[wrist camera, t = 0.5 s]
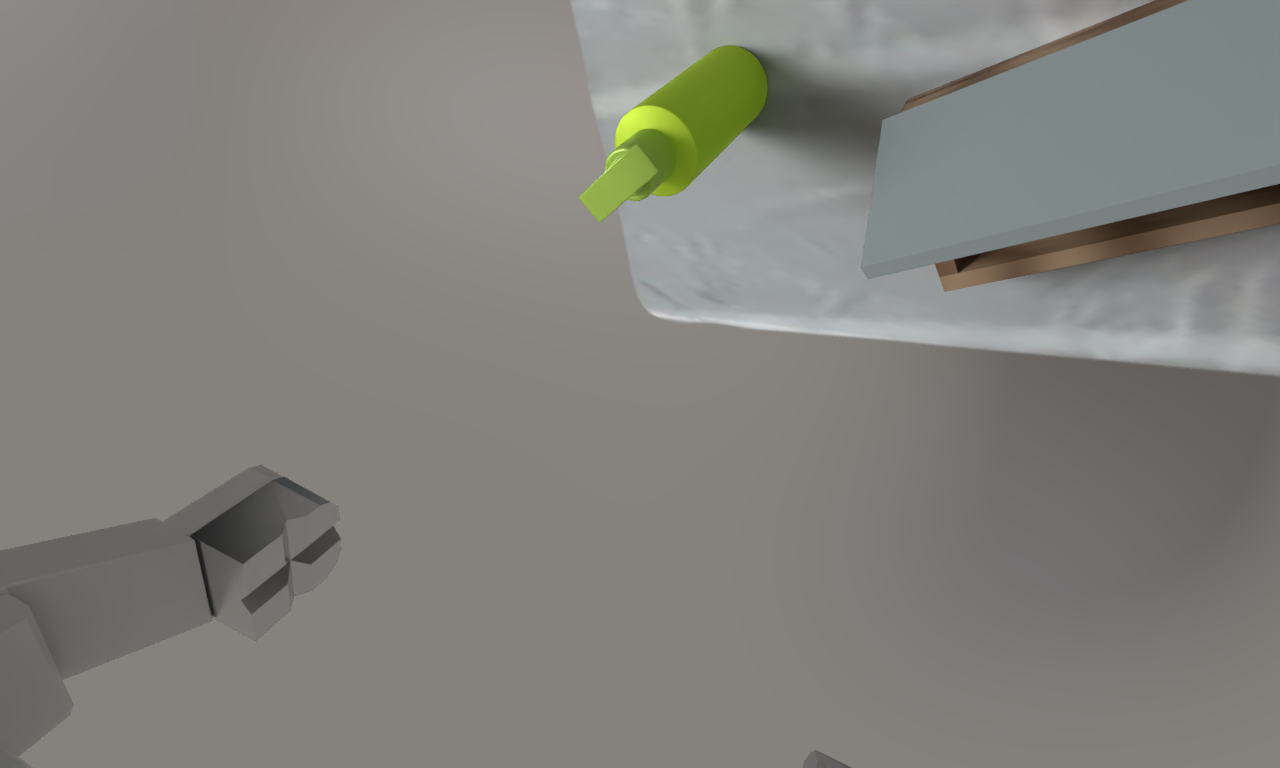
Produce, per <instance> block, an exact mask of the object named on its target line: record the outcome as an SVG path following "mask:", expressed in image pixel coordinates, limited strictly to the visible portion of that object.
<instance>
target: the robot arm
mask: <svg viewBox="0 0 1280 768" xmlns="http://www.w3.org/2000/svg"><path fill="white" fill-rule="evenodd" d="M339 520H340V516H339V506H338V505H337V504H335V503H333V502H331V501H329V500H327V499H325V498H324V497H322V496H320V495H318V494H316V493H314V492H312V491H310V490H308V489H307V488H305V487H303V486H301V485H299V484H297V483H295V482H293V481H291V480H290V479H288V478H287V477H285V476H283V475H281V474H279V473H277V472H275V471H273V470H271V469H269V468H267V467H265V466H263V465H258V466H253V467H249V468H247V469H245V470H244V471H242V472H241V473H239V474H237V475H236V476H234V477H233V478H231V479H230V480H228V481H226V482H225V483H223V484H221V485H220V486H218V487H217V488H215V489H213V490H212V491H210V492H209V493H207V494H205V495H204V496H202V497H201V498H199V499H197V500H196V501H194V502H193V503H191V504H189V505H188V506H186V507H185V508H183V509H182V510H180V511H178V512H177V513H175V514H173V515H172V516H170V517H169V518H167V519H165V520H164V521H161V520H159V519H156V518H152V519H147V520H142V521H138V522H133V523H128V524H124V525H119V526H114V527H109V528H104V529H100V530H95V531H91V532H86V533H81V534H76V535H71V536H67V537H62V538H57V539H52V540H48V541H43V542H38V543H34V544H29V545H24V546H19V547H14V548H10V549H5V550H0V768H33V767H32V766H31V765H29V764H28V763H26V762H25V761H23V760H22V759H21V758H19V756H20V755H21V754H22V753H23V752H25V751H26V750H27V749H29V748H30V747H31V746H32V745H34V744H35V743H36V742H37V741H39V740H40V739H41V738H42V737H43V736H45V735H46V734H47V733H48V732H50V731H51V730H52V729H53V728H55V727H56V726H57V725H58V724H60V723H61V722H62V721H63V720H65V719H66V718H67V717H68V716H70V714H71V711H72V708H73V705H74V704H73V702H72V700H71V697H70V695H69V693H68V691H67V689H66V686H65V684H64V682H63V680H64V679H66V678H68V677H71V676H74V675H76V674H79V673H81V672H84V671H87V670H89V669H92V668H94V667H97V666H99V665H102V664H104V663H107V662H109V661H112V660H115V659H117V658H120V657H122V656H125V655H127V654H130V653H132V652H135V651H138V650H140V649H142V648H145V647H148V646H150V645H153V644H155V643H158V642H160V641H163V640H166V639H168V638H171V637H173V636H176V635H178V634H181V633H184V632H186V631H189V630H191V629H194V628H196V627H199V626H201V625H204V624H206V623H209V622H211V621H212V618H214V619H216V620H218V621H219V622H222V623H223V624H225V625H227V626H229V627H230V628H232V629H234V630H236V631H238V632H240V633H242V634H243V635H245V636H247V637H249V638H251V639H253V640H254V641H257V640H258V639H259V638H260V637H261V636H262V635H263V634H264V633H266V632H267V631H268V630H269V629H270V628H271V627H272V626H274V625H275V624H276V623H277V622H278V621H279V620H280V619H281V618H282V617H284V616H285V615H286V614H287V613H288V612H289V611H290V610H291V607H292V603H293V599H294V596H297V595H300V594H303V593H307V592H310V591H313V590H314V589H315V588H316V587H317V586H318V585H319V584H320V583H321V582H323V581H324V579H326V578H327V577H328V575H329V573H330V572H331V571H332V569H333V567H334V566H335V564H336V563H337V561H338V558H339V554H340V551H341V538H340V537H339V535H338V533H337V532H336V530H335V528H334V526H333V525H334V524H336V523H337V522H338V521H339ZM803 768H851V767H849V766H847V765H845V764H843V763H841V762H839V761H837V760H835V759H833V758H831V757H829V756H827V755H825V754H823V753H821V752H819V751H817V750H815V751H813V752H811V753H810V754H809V756H808V757H807V758H806V760H805V761H804V765H803Z"/></svg>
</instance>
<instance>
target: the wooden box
mask: <svg viewBox="0 0 1280 768" xmlns="http://www.w3.org/2000/svg"><path fill="white" fill-rule="evenodd" d="M1186 1H1188V0H1155V1H1153V2H1150V3H1148V4H1145V5H1143V6H1140V7H1138V8H1135V9H1133V10H1130V11H1128V12H1125V13H1123V14H1120V15H1118V16H1115V17H1113V18H1110V19H1108V20H1105V21H1103V22H1100V23H1098V24H1096V25H1093V26H1091V27H1088V28H1086V29H1083V30H1081V31H1078V32H1076V33H1073V34H1071V35H1068V36H1066V37H1063V38H1061V39H1058V40H1056V41H1053V42H1051V43H1048V44H1046V45H1043V46H1041V47H1038V48H1036V49H1033V50H1031V51H1028V52H1026V53H1023V54H1021V55H1018V56H1016V57H1013V58H1011V59H1008V60H1006V61H1003V62H1001V63H998V64H996V65H993V66H991V67H988V68H986V69H983V70H981V71H978V72H976V73H973V74H971V75H968V76H966V77H963V78H961V79H958V80H956V81H953V82H951V83H948V84H946V85H943V86H941V87H938V88H936V89H933V90H931V91H928V92H926V93H923V94H921V95H918V96H916V97H913V98H911V99H908V100H907V102H906V104H905V105H904V107H903V109H902V110H901V112H904V111H906V110H909V109H911V108H914V107H916V106H919V105H922V104H924V103H927V102H929V101H932V100H934V99H937V98H939V97H942V96H945V95H947V94H950V93H952V92H955V91H957V90H960V89H963V88H965V87H968V86H970V85H973V84H975V83H978V82H980V81H983V80H986V79H988V78H991V77H993V76H996V75H998V74H1001V73H1004V72H1006V71H1009V70H1011V69H1014V68H1016V67H1019V66H1022V65H1024V64H1027V63H1029V62H1032V61H1034V60H1037V59H1039V58H1042V57H1045V56H1047V55H1050V54H1052V53H1055V52H1057V51H1060V50H1063V49H1065V48H1068V47H1070V46H1073V45H1075V44H1078V43H1080V42H1083V41H1086V40H1088V39H1091V38H1093V37H1096V36H1098V35H1101V34H1104V33H1106V32H1109V31H1111V30H1114V29H1116V28H1119V27H1121V26H1124V25H1127V24H1129V23H1132V22H1134V21H1137V20H1139V19H1142V18H1145V17H1147V16H1150V15H1152V14H1155V13H1157V12H1160V11H1162V10H1165V9H1168V8H1170V7H1173V6H1175V5H1178V4H1180V3H1183V2H1186ZM901 112H900V113H901ZM1276 224H1280V184H1276V185H1272V186H1267V187H1263V188H1259V189H1255V190H1250V191H1246V192H1242V193H1237V194H1233V195H1229V196H1224V197H1220V198H1216V199H1211V200H1207V201H1203V202H1199V203H1194V204H1190V205H1186V206H1181V207H1177V208H1173V209H1168V210H1164V211H1160V212H1155V213H1151V214H1147V215H1142V216H1138V217H1134V218H1130V219H1125V220H1121V221H1117V222H1112V223H1108V224H1104V225H1099V226H1095V227H1091V228H1086V229H1082V230H1078V231H1074V232H1069V233H1065V234H1061V235H1056V236H1052V237H1048V238H1043V239H1039V240H1035V241H1030V242H1026V243H1022V244H1018V245H1013V246H1009V247H1005V248H1000V249H996V250H992V251H987V252H983V253H979V254H974V255H970V256H966V257H961V258H957V259H953V260H949V261H944V262H940V263H936V264H935V265H936V268H937V271H938V274H939V277H940V280H941V283H942V286H943V289H944V291H945V292H946V291H951V290H956V289H961V288H966V287H970V286H975V285H980V284H985V283H990V282H995V281H1000V280H1005V279H1010V278H1015V277H1020V276H1025V275H1029V274H1034V273H1039V272H1044V271H1049V270H1054V269H1059V268H1064V267H1069V266H1074V265H1079V264H1084V263H1089V262H1093V261H1098V260H1103V259H1108V258H1113V257H1118V256H1123V255H1128V254H1133V253H1138V252H1143V251H1148V250H1153V249H1157V248H1162V247H1167V246H1172V245H1177V244H1182V243H1187V242H1192V241H1197V240H1202V239H1207V238H1212V237H1217V236H1221V235H1226V234H1231V233H1236V232H1241V231H1246V230H1251V229H1256V228H1261V227H1266V226H1271V225H1276Z"/></svg>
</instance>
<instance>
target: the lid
mask: <svg viewBox="0 0 1280 768" xmlns="http://www.w3.org/2000/svg"><path fill="white" fill-rule="evenodd" d="M1276 184H1280V0H1188V1H1186V2H1183V3H1180V4H1178V5H1175V6H1173V7H1170V8H1168V9H1165V10H1162V11H1160V12H1157V13H1155V14H1152V15H1150V16H1147V17H1145V18H1142V19H1139V20H1137V21H1134V22H1132V23H1129V24H1127V25H1124V26H1121V27H1119V28H1116V29H1114V30H1111V31H1109V32H1106V33H1104V34H1101V35H1098V36H1096V37H1093V38H1091V39H1088V40H1086V41H1083V42H1080V43H1078V44H1075V45H1073V46H1070V47H1068V48H1065V49H1063V50H1060V51H1057V52H1055V53H1052V54H1050V55H1047V56H1045V57H1042V58H1039V59H1037V60H1034V61H1032V62H1029V63H1027V64H1024V65H1022V66H1019V67H1016V68H1014V69H1011V70H1009V71H1006V72H1004V73H1001V74H998V75H996V76H993V77H991V78H988V79H986V80H983V81H980V82H978V83H975V84H973V85H970V86H968V87H965V88H963V89H960V90H957V91H955V92H952V93H950V94H947V95H945V96H942V97H939V98H937V99H934V100H932V101H929V102H927V103H924V104H922V105H919V106H916V107H914V108H911V109H909V110H906V111H904V112H901V113H898V114H896V115H893V116H891V117H888V118H886V119H883V120H882V127H881V134H880V141H879V147H878V154H877V161H876V168H875V174H874V181H873V188H872V195H871V201H870V208H869V215H868V222H867V228H866V235H865V242H864V249H863V255H862V262H861V269H862V270H863V272H864V273H865V275H866V277H867V278H868V279H871V278H875V277H880V276H884V275H888V274H893V273H897V272H901V271H905V270H910V269H914V268H918V267H923V266H927V265H931V264H936V263H940V262H944V261H949V260H953V259H957V258H961V257H966V256H970V255H974V254H979V253H983V252H987V251H992V250H996V249H1000V248H1005V247H1009V246H1013V245H1018V244H1022V243H1026V242H1030V241H1035V240H1039V239H1043V238H1048V237H1052V236H1056V235H1061V234H1065V233H1069V232H1074V231H1078V230H1082V229H1086V228H1091V227H1095V226H1099V225H1104V224H1108V223H1112V222H1117V221H1121V220H1125V219H1130V218H1134V217H1138V216H1142V215H1147V214H1151V213H1155V212H1160V211H1164V210H1168V209H1173V208H1177V207H1181V206H1186V205H1190V204H1194V203H1199V202H1203V201H1207V200H1211V199H1216V198H1220V197H1224V196H1229V195H1233V194H1237V193H1242V192H1246V191H1250V190H1255V189H1259V188H1263V187H1267V186H1272V185H1276Z"/></svg>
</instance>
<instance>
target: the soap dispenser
mask: <svg viewBox="0 0 1280 768" xmlns="http://www.w3.org/2000/svg"><path fill="white" fill-rule="evenodd" d="M767 94H768V82H767V77H766V74H765V71H764V69H763V67H762V65H761V63H760V62H759V60H758V59H757V58H756V57H755V56H754V55H753V54H752V53H750V52H749V51H747V50H746V49H744V48H741V47H738V46H722V47H719V48H716V49H714V50H713V51H711V52H710V53H708V54H707V55H706V56H704V57H703V58H702V59H700V60H699V61H697V62H696V63H695V64H693V65H692V66H691V67H689V68H688V69H687V70H685V71H684V72H682V73H681V74H680V75H678V76H677V77H676V78H674V79H673V80H671V81H670V82H669V83H667V84H666V85H665V86H663V87H662V88H660V89H659V90H658V91H656V92H655V93H654V94H652V95H651V96H649V97H648V98H647V99H645V100H644V101H643V102H641V103H640V104H638V105H637V106H636V107H634V108H633V109H632V110H630V111H629V112H628V113H627V114H626V115H625V116H624V117H623V118H622V119H621V121H620V123H619V125H618V127H617V131H616V135H615V149H614V150H613V151H612V152H611V153H610V155H609V156H608V158H607V160H606V164H605V173H604V174H602V175H601V176H600V178H598V179H597V180H596V181H595V182H594V183H593V184H592V185H591V186H590V187H589V188H588V189H587V190H586V191H585V192H583V193H582V194H581V195H580V196H579V199H580V200H581V201H582V202H583V204H584V205H585V206H586V207H587V208H588V210H589V211H590V212H591V213H592V214H593V216H594V217H595V218H596V219H597V220H598V222H599V223H600V222H601V221H602V220H603V219H605V218H606V217H607V216H608V215H609V214H610V213H612V212H613V211H614V210H615V209H616V208H618V207H619V206H620V205H621V204H622V203H623V202H625V201H626V200H630V201H640V200H643V199H645V198H647V197H648V196H649V195H650V194H652V195H656V196H671V195H675V194H677V193H679V192H681V191H683V190H684V189H685V188H686V187H687V186H688V185H689V184H690V183H691V182H692V181H693V180H694V179H695V178H696V177H697V176H698V175H699V174H700V173H701V172H702V171H703V170H704V169H705V168H706V167H707V166H708V165H709V164H710V163H711V162H712V161H713V160H714V159H715V158H716V157H717V156H718V155H719V154H720V153H721V152H722V151H723V150H724V149H725V148H726V147H727V146H728V145H729V144H730V143H731V142H732V141H733V140H734V139H735V138H736V137H737V136H738V135H739V134H740V133H741V132H742V131H743V130H744V129H745V128H746V127H747V126H748V125H749V124H750V123H751V122H752V121H753V120H754V119H755V118H756V117H757V116H758V115H759V113H760V112H761V111H762V109H763V107H764V105H765V102H766V99H767Z"/></svg>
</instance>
